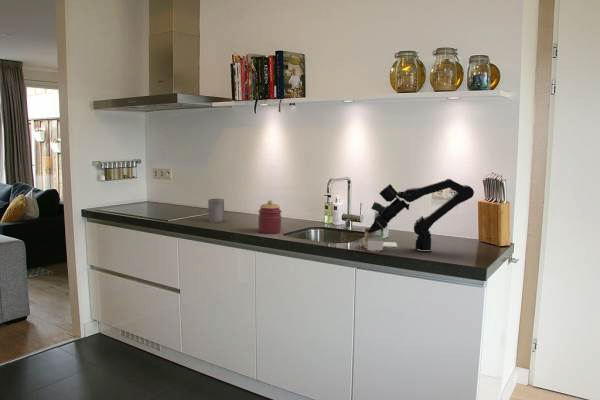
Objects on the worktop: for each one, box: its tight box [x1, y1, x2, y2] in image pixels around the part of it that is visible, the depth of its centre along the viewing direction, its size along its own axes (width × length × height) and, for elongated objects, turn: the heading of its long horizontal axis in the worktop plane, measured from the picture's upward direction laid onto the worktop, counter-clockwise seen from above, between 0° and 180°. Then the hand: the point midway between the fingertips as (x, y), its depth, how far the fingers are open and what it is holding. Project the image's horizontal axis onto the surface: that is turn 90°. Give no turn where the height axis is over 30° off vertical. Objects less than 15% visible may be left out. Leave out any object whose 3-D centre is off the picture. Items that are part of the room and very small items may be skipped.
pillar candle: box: [207, 198, 225, 223], centre depth 289 cm, size 10×10×15 cm
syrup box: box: [373, 210, 390, 239], centre depth 244 cm, size 6×6×14 cm
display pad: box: [383, 241, 398, 248], centre depth 225 cm, size 9×9×1 cm
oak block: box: [364, 227, 376, 247], centre depth 222 cm, size 5×5×9 cm
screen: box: [367, 238, 384, 251], centre depth 214 cm, size 7×2×6 cm, turn 82°
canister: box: [257, 200, 283, 235], centre depth 257 cm, size 13×13×18 cm
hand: (369, 230), depth 221 cm, fingers open, 9 cm apart
